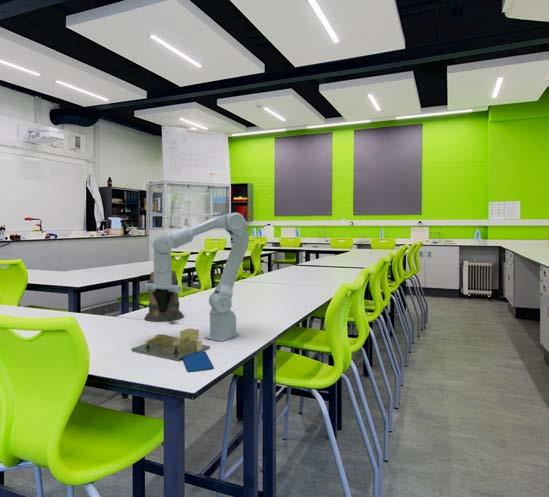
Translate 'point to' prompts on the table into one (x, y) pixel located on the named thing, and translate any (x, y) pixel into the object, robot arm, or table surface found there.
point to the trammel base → (169, 347)
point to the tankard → (173, 305)
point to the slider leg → (187, 337)
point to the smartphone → (197, 362)
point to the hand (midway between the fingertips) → (163, 312)
